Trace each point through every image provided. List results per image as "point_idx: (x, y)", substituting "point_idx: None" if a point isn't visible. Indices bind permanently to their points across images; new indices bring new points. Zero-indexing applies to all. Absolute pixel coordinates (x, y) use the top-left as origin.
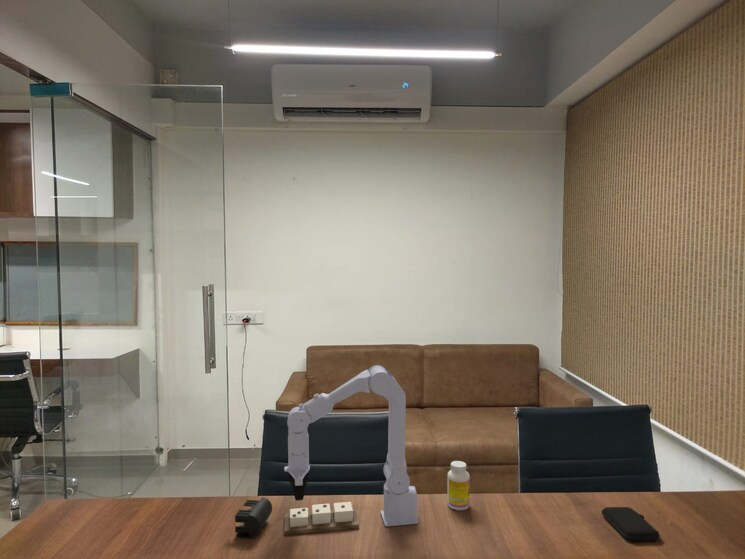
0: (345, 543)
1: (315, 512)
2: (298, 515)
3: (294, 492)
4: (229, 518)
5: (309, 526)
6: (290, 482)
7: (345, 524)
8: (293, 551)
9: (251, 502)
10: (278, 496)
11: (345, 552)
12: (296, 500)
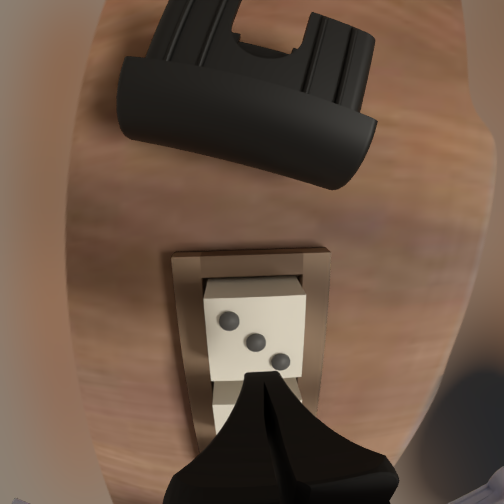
0: (129, 438)
1: (225, 415)
2: (229, 339)
3: (235, 408)
4: (352, 5)
5: (201, 363)
6: (175, 474)
7: None
8: (71, 292)
9: (333, 54)
10: (486, 210)
11: (89, 429)
12: (244, 377)
